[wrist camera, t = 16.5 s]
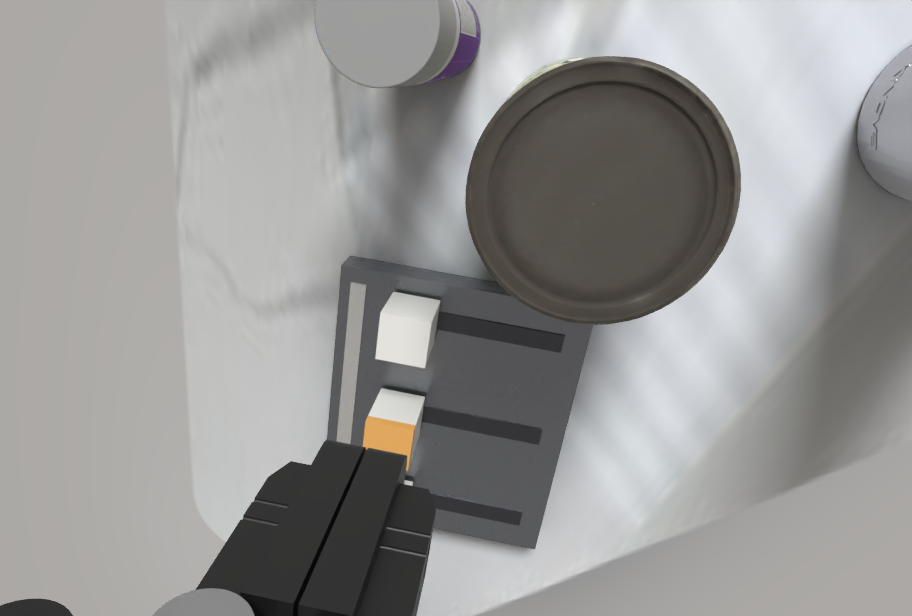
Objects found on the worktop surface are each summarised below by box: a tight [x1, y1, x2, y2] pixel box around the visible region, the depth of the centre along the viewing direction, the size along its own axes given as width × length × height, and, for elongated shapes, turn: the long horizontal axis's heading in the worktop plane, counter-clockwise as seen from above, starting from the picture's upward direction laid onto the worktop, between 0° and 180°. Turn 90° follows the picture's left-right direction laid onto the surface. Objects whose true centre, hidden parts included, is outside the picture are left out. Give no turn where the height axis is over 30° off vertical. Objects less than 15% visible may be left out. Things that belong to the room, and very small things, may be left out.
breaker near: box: [375, 292, 441, 368], centre depth 38 cm, size 3×3×4 cm
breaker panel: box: [327, 256, 593, 549], centre depth 43 cm, size 16×19×2 cm
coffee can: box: [466, 56, 741, 325], centre depth 30 cm, size 10×10×14 cm
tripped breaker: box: [363, 388, 425, 471], centre depth 40 cm, size 3×3×4 cm
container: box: [315, 0, 481, 88], centre depth 28 cm, size 5×5×15 cm
